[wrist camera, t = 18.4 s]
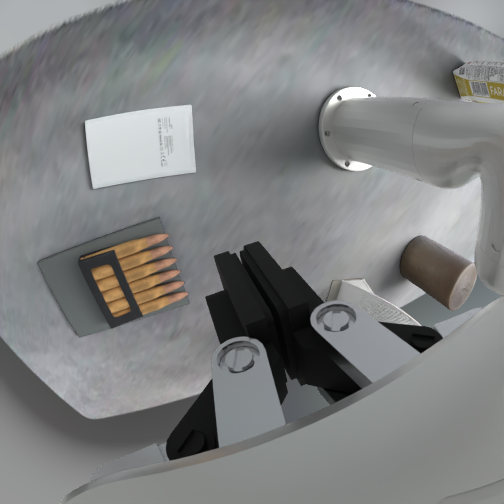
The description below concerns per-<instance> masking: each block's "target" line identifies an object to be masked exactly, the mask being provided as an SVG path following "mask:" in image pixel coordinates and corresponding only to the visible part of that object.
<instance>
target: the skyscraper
mask: <svg viewBox="0 0 504 504" xmlns="http://www.w3.org/2000/svg"><path fill="white" fill-rule="evenodd" d="M335 300H337V301H346V302H350V303H352V304H354V305H356V306H357V307H358V308H360V309H361V310H362V311H364V312H365V313H367V314H368V315H369V316H371V317H372V318H373V319H375V320H376V321H379V322H388V323H397V324H407V325H417V326H421V325H420V324H419V323H418V322H417V321H416V320H414V319H413V318H412V317H410V316H409V315H408V314H407V313H405V312H404V311H402V310H401V309H399V308H398V307H396V306H395V305H393V304H392V303H390V302H388V301H386V300H384V299H383V298H381V297H379V296H377V295H375V294H374V293H373V291H372V290H371V288H370V287H369V286H368V284H367V283H366V281H365V280H364V278H359V279H346V280H333V281H332V284H331V288H330V291H329V295H328V298H327V302H329V301H335Z"/></svg>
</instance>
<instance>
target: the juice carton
mask: <svg viewBox="0 0 504 504" xmlns="http://www.w3.org/2000/svg"><path fill="white" fill-rule="evenodd" d="M453 75H454V78H455V81H456V84H457V87H458V91H459V94H460V97H461V99H464V100H467V101H472V102H476V103H504V63H498V62H484V61H473V62H468V63H466V64H464V65H463V66H461V67H459V68H457V69H456V70H454V71H453Z"/></svg>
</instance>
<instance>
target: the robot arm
mask: <svg viewBox="0 0 504 504" xmlns="http://www.w3.org/2000/svg"><path fill="white" fill-rule="evenodd" d="M319 137H320V140H321V144H322V146H323V149H324V151H325V153H326V154H327V156H328V157H329V158H330V159H331V160H332V161H333V162H334V163H335V164H336V165H338V166H339V167H341V168H344V169H346V170H350V171H363V170H366V169H368V168H370V167H372V166H375V167H378V168H382V169H385V170H388V171H391V172H395V173H398V174H401V175H404V176H407V177H410V178H413V179H416V180H419V181H422V182H425V183H428V184H431V185H434V186H437V187H440V188H444V189H456V188H460V187H462V186H465V185H467V184H469V183H470V182H472V181H473V180H475V179H476V178H478V177H479V176H480V179H481V184H482V185H481V208H480V217H479V225H478V232H477V240H476V247H475V267H476V271H477V274H478V276H479V278H480V279H481V281H482V282H483V283H484V284H485V285H486V286H487V287H488V288H489V289H491V290H492V291H494V292H496V293H497V294H500V295H502V296H501V297H500V298H498V299H497V300H495V301H493V302H491V303H490V304H489V305H487V306H486V307H484V308H475V309H472V310H470V311H467V312H465V313H463V314H460V315H458V316H455V317H453V318H450V319H448V320H446V321H443V322H440V323H437V324H435V325H434V327H433V329H432V328H429V327H425V326H417V325H407V324H397V323H388V322H379V321H376V320H375V319H373V318H372V317H371V316H369V315H368V314H367V313H365V312H364V311H362V310H361V309H360V308H358V307H357V306H356V305H354V304H352V303H350V302H346V301H337V300H335V301H329V302H326V303H324V302H323V301H322V300H321V299H320V297H319V296H318V295H317V294H316V293H315V292H314V291H313V290H312V288H311V287H310V286H309V285H308V284H307V283H306V282H305V281H304V279H303V278H302V277H301V276H300V275H299V274H298V273H297V272H296V270H295V269H294V268H292V267H289V268H286V269H283V270H282V269H281V267H280V266H279V265H278V264H277V263H276V261H275V260H274V259H273V258H272V257H271V255H270V254H269V253H268V252H267V251H266V249H265V248H264V247H263V246H262V244H261V243H260V242H259V241H257V242H254V243H251V244H248V245H245V246H244V250H243V251H240V257H241V261H242V263H241V261H240V260H239V258H238V256H237V255H236V253H234V254H231V255H230V253H229V251H227V252H224V253H221V254H218V255H215V256H214V259H215V262H216V265H217V269H218V272H219V275H220V278H221V282H222V285H223V288H224V290H223V291H220V292H218V293H215V294H212V295H209V296H206V297H205V298H206V301H207V304H208V308H209V311H210V314H211V317H212V320H213V323H214V326H215V329H216V333H217V336H218V339H219V342H220V345H219V347H218V348H217V349H216V350H215V351H214V353H213V355H212V359H211V367H212V379H211V381H210V382H209V383H208V385H207V386H206V387H205V389H204V390H203V392H202V393H201V394H200V396H199V397H198V399H197V400H196V401H195V402H194V404H193V405H192V407H191V408H190V409H189V410H188V412H187V413H186V415H185V416H184V417H183V418H182V420H181V421H180V422H179V424H178V425H177V427H176V428H175V429H174V430H173V432H172V433H171V435H170V436H169V438H168V440H167V442H166V443H164V444H162V445H158V444H156V443H155V444H153V445H151V446H148V447H146V448H144V449H142V450H139V451H137V452H135V453H132V454H130V455H127V456H125V457H122V458H119V459H117V460H114V461H112V462H109V463H106V464H104V465H102V466H100V467H98V468H97V469H96V470H95V472H94V473H93V475H92V478H91V482H89V483H86V484H84V485H82V486H80V487H79V488H77V489H75V490H73V491H72V492H70V493H69V494H67V495H66V496H65V497H64V498H63V499H62V500H61V501H60V502H59V503H58V504H504V103H475V102H463V101H450V100H440V99H427V98H410V97H376V96H375V95H374V94H373V93H372V92H370V91H368V90H366V89H364V88H361V87H345V88H342V89H339V90H337V91H336V92H334V93H333V94H332V95H331V96H330V97H329V98H328V99H327V100H326V102H325V103H324V105H323V108H322V110H321V113H320V117H319ZM284 368H285V369H284ZM285 370H286V372H287V373H288V375H289V377H290V379H291V380H293V379H295V378H297V380H298V381H299V383H300V385H301V386H302V385H305V384H308V385H312V386H317V390H318V391H319V393H320V394H321V396H322V397H323V398H324V399H325V400H326V401H327V402H328V403H329V404H330V406H328V407H325V408H323V409H321V410H319V411H317V412H314V413H313V414H310V415H308V416H305V417H303V418H301V419H298V420H296V421H294V422H291V423H289V424H286V423H285V420H284V416H283V412H282V409H281V404H282V403H283V401H284V399H285V397H286V395H287V393H288V391H287V387H286V382H287V378H286V374H285Z"/></svg>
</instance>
